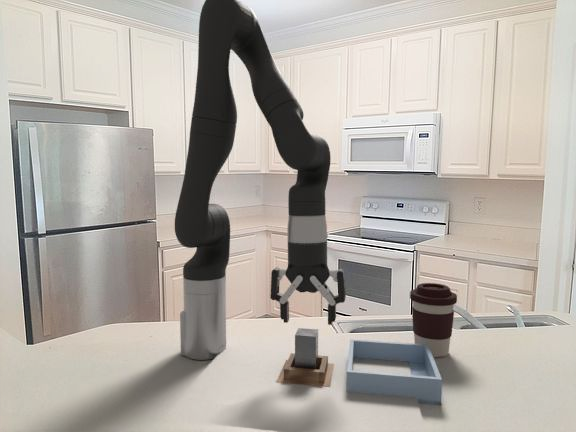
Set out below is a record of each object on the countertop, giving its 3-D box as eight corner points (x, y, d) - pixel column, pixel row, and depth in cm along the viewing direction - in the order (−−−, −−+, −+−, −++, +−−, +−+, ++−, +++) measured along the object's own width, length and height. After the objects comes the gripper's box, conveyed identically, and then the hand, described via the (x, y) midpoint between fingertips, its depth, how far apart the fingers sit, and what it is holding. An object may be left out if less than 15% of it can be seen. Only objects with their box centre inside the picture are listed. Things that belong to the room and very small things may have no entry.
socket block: (276, 387, 77) (276, 371, 77) (286, 364, 87) (286, 350, 87) (330, 392, 75) (330, 376, 75) (334, 368, 85) (334, 354, 85)
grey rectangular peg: (294, 376, 80) (295, 335, 79) (298, 367, 84) (298, 328, 83) (315, 377, 79) (315, 336, 78) (318, 368, 83) (318, 329, 82)
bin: (346, 396, 74) (346, 371, 74) (349, 359, 90) (350, 339, 89) (441, 405, 71) (442, 379, 71) (427, 365, 87) (428, 344, 86)
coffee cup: (400, 351, 94) (402, 286, 93) (420, 340, 101) (422, 279, 100) (444, 364, 87) (446, 294, 86) (462, 351, 94) (464, 285, 93)
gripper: (266, 241, 77) (267, 327, 78) (343, 241, 74) (344, 330, 75) (274, 236, 84) (276, 315, 85) (345, 237, 82) (346, 318, 83)
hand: (308, 322), depth 80 cm, fingers open, 8 cm apart
